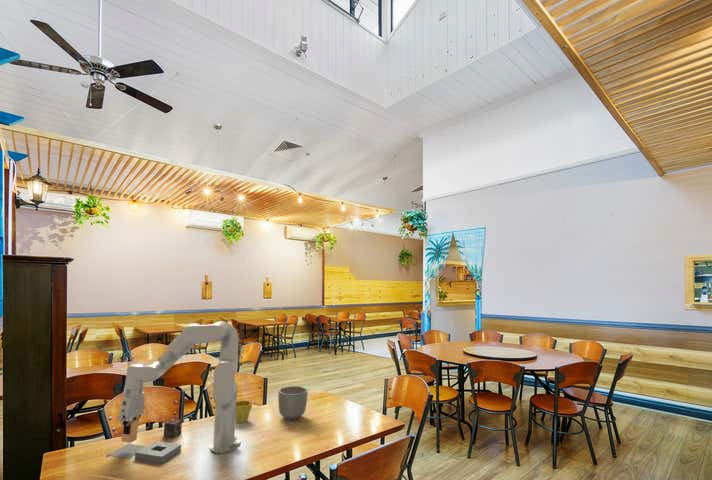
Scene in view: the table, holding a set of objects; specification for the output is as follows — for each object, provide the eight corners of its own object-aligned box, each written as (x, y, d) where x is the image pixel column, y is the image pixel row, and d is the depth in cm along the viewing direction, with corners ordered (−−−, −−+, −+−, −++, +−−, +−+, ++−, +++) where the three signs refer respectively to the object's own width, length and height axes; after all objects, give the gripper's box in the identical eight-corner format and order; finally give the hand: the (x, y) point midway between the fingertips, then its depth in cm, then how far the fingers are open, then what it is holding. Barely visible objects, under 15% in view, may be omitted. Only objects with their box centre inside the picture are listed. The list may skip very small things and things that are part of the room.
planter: (282, 412, 225) (284, 385, 227) (310, 414, 222) (311, 386, 224) (272, 422, 208) (274, 393, 210) (302, 425, 206) (303, 395, 207)
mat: (149, 448, 174) (149, 446, 174) (128, 459, 162) (129, 458, 163) (128, 444, 177) (128, 443, 177) (106, 456, 165) (106, 454, 165)
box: (173, 439, 184) (174, 424, 185) (162, 438, 185) (164, 423, 186) (181, 434, 190) (182, 419, 191) (171, 433, 191) (172, 418, 192)
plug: (136, 439, 171) (138, 419, 172) (130, 443, 168) (132, 422, 169) (127, 438, 172) (129, 418, 173) (121, 441, 169) (123, 420, 170)
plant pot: (234, 425, 202) (235, 407, 203) (230, 419, 211) (231, 401, 212) (252, 422, 208) (253, 404, 209) (248, 416, 216) (249, 399, 217)
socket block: (180, 452, 170) (181, 444, 171) (161, 465, 159) (162, 456, 159) (155, 448, 173) (155, 441, 174) (134, 460, 162) (135, 452, 162)
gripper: (125, 397, 164) (121, 440, 162) (153, 387, 180) (150, 426, 178) (112, 395, 165) (107, 438, 163) (141, 385, 181) (137, 424, 179)
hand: (130, 431), depth 171 cm, fingers closed on plug, 3 cm apart
